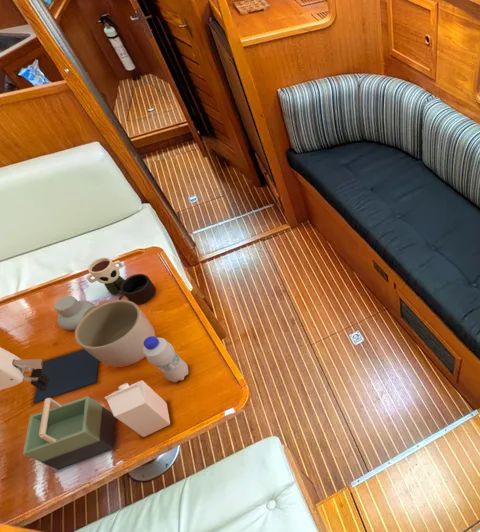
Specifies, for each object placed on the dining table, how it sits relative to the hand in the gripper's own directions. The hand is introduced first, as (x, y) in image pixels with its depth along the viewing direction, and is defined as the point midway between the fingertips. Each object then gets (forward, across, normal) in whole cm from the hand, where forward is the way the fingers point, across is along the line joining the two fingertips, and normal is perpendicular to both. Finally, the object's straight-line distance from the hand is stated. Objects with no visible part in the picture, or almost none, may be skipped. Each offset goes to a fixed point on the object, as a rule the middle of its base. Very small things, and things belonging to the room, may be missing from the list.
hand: (20, 392), depth 86 cm
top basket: (+23, -2, 0) cm, 23 cm away
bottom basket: (+29, -2, 0) cm, 29 cm away
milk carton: (+29, +15, 0) cm, 33 cm away
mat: (+29, -10, +24) cm, 39 cm away
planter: (+29, +8, +26) cm, 40 cm away
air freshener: (+30, -9, +44) cm, 54 cm away
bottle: (+29, +22, +12) cm, 38 cm away
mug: (+29, +9, +47) cm, 56 cm away
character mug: (+30, +1, +55) cm, 62 cm away
